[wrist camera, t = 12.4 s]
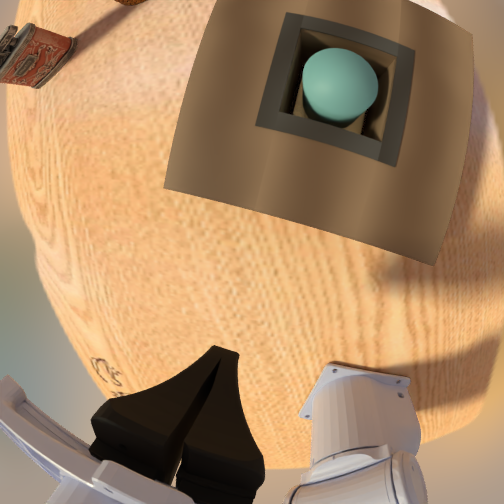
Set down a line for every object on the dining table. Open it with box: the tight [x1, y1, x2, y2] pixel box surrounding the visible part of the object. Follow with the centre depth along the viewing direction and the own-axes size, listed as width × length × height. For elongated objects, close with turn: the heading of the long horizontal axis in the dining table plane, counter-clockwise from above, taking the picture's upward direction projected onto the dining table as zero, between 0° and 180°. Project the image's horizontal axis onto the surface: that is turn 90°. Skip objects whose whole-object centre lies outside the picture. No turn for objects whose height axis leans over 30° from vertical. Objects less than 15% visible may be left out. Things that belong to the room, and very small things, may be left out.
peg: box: [303, 48, 378, 128], centre depth 14 cm, size 4×4×5 cm
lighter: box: [0, 23, 78, 89], centre depth 14 cm, size 8×3×10 cm, turn 112°
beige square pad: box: [293, 76, 366, 134], centre depth 16 cm, size 5×5×1 cm
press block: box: [164, 0, 474, 266], centre depth 14 cm, size 16×16×6 cm
